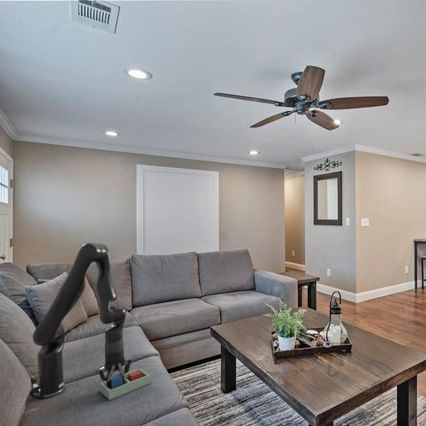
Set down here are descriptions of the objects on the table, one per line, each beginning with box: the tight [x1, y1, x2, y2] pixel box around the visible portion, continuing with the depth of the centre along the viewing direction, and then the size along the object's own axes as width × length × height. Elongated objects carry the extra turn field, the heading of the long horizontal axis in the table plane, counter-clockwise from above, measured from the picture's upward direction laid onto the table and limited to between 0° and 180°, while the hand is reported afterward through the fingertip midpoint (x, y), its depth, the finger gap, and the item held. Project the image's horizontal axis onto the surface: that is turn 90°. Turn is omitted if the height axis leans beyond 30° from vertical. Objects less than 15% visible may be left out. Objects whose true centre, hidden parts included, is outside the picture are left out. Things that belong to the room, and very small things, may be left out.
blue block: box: [111, 373, 123, 389], centre depth 152 cm, size 4×4×4 cm
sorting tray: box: [99, 368, 151, 401], centre depth 156 cm, size 18×12×4 cm, turn 141°
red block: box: [128, 369, 141, 382], centre depth 159 cm, size 4×4×4 cm
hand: (115, 385), depth 152 cm, fingers closed on blue block, 4 cm apart
